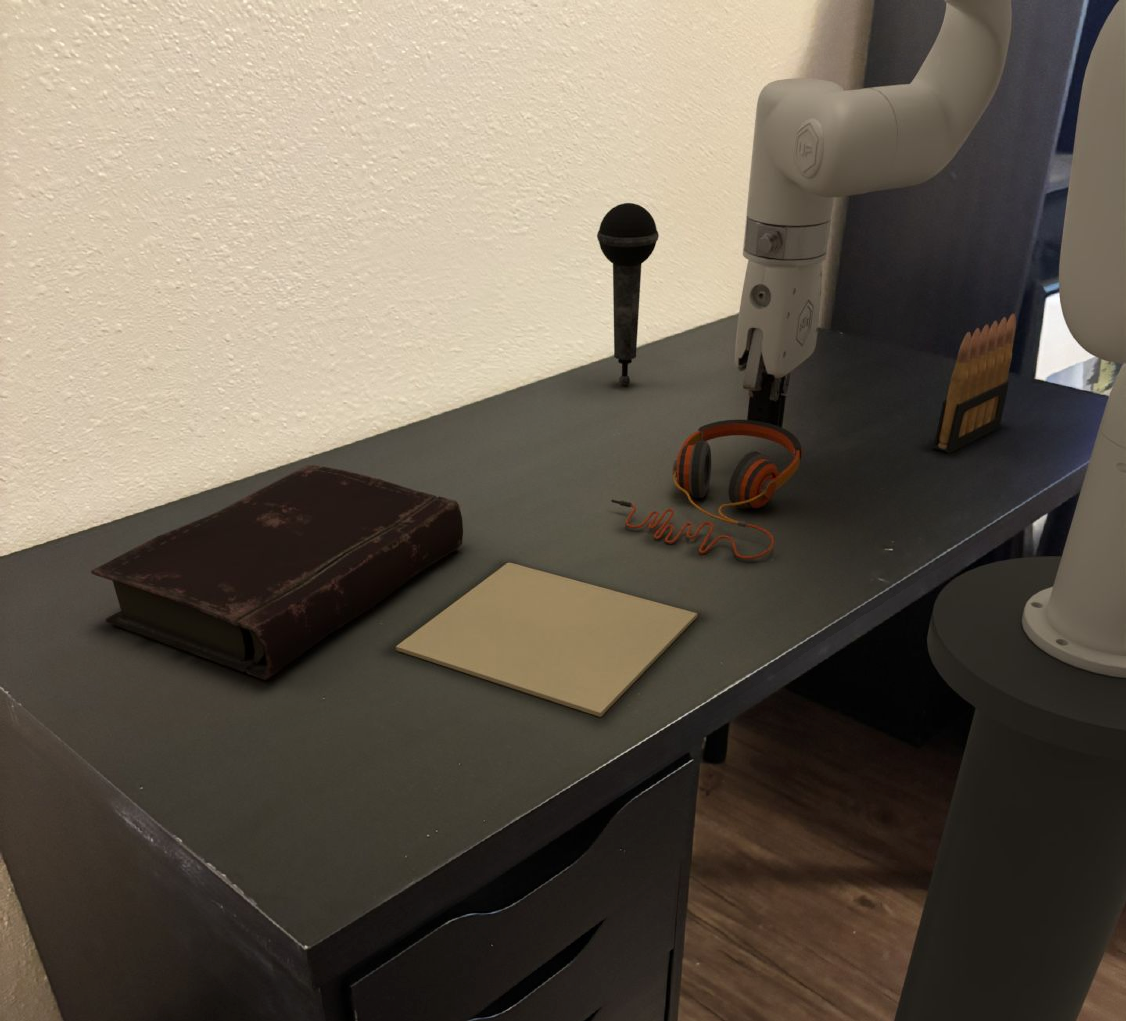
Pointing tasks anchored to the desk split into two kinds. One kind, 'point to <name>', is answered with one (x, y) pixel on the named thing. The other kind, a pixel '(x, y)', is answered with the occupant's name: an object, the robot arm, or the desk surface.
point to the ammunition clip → (977, 386)
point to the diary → (281, 566)
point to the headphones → (747, 481)
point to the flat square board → (550, 637)
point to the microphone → (627, 272)
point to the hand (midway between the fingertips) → (763, 433)
